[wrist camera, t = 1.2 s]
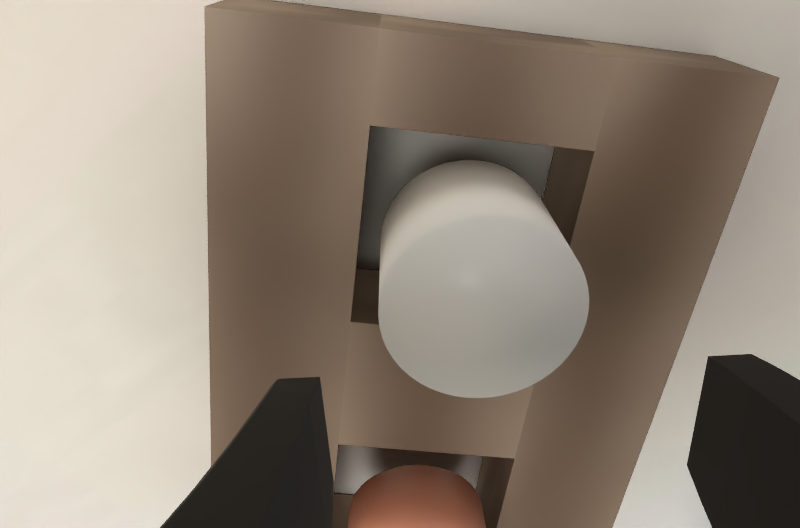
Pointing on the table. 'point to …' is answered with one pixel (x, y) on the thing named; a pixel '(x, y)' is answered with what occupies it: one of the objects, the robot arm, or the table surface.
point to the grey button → (477, 282)
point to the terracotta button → (416, 500)
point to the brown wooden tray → (564, 199)
